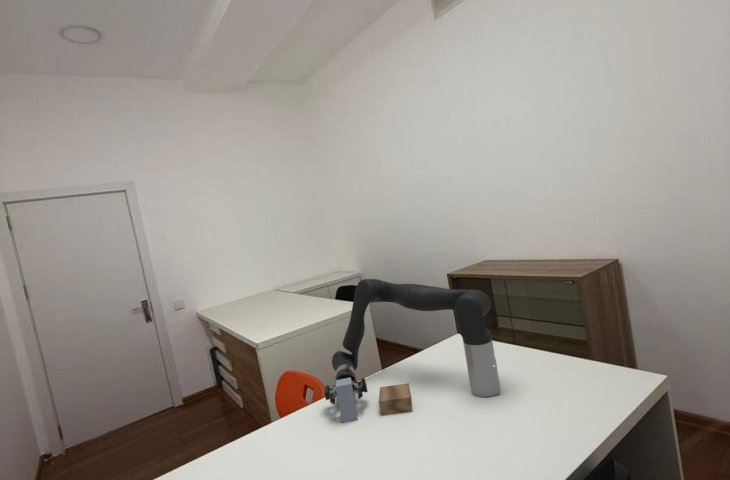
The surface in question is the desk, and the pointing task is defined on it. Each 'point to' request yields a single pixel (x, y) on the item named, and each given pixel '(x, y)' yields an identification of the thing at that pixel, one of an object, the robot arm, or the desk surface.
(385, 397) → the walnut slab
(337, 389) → the slate pillar
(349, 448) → the desk surface
